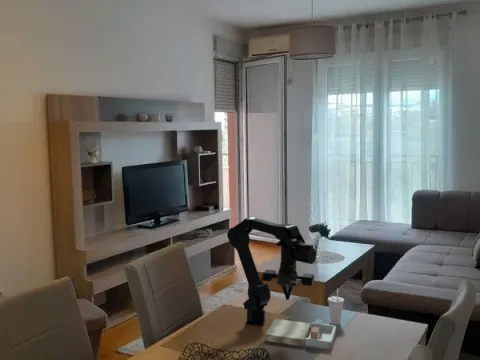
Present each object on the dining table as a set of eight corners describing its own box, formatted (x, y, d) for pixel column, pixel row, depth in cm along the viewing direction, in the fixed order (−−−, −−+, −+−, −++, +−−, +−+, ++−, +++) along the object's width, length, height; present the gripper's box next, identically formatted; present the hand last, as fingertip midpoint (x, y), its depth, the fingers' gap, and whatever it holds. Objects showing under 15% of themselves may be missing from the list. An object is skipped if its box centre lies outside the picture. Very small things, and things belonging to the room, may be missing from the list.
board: (265, 340, 180) (265, 334, 180) (275, 325, 194) (275, 318, 194) (303, 346, 176) (303, 339, 176) (310, 329, 190) (311, 323, 190)
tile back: (314, 323, 183) (321, 324, 182) (315, 318, 187) (322, 319, 187) (314, 335, 184) (321, 336, 183) (315, 330, 188) (322, 331, 187)
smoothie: (343, 326, 193) (344, 291, 192) (326, 325, 195) (327, 290, 193) (343, 320, 200) (344, 286, 198) (327, 318, 201) (328, 285, 199)
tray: (305, 346, 176) (305, 338, 175) (312, 329, 190) (312, 322, 190) (330, 350, 173) (331, 342, 173) (336, 333, 187) (336, 325, 187)
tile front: (310, 331, 176) (317, 332, 175) (312, 326, 180) (319, 327, 179) (310, 343, 176) (317, 344, 176) (312, 338, 181) (319, 339, 180)
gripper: (258, 262, 179) (257, 304, 180) (309, 267, 173) (308, 310, 175) (266, 254, 189) (265, 294, 191) (315, 259, 184) (314, 299, 185)
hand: (287, 299), depth 185 cm, fingers closed
